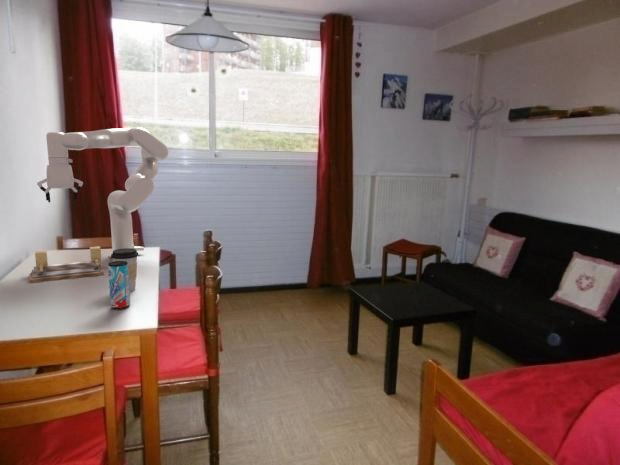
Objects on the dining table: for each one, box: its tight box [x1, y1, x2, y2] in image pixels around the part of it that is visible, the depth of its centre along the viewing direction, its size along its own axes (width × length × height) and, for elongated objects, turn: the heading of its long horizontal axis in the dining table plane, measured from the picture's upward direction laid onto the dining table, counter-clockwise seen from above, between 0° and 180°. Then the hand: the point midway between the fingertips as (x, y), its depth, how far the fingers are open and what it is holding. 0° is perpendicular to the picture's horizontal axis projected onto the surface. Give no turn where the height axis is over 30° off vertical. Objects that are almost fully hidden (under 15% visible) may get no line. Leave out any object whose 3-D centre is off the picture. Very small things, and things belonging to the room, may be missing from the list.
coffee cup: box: [110, 248, 139, 293], centre depth 161 cm, size 9×9×15 cm
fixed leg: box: [89, 245, 102, 268], centre depth 187 cm, size 4×10×7 cm, turn 29°
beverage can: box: [107, 261, 131, 310], centre depth 144 cm, size 6×6×15 cm
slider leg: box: [34, 250, 49, 273], centre depth 177 cm, size 4×10×7 cm, turn 29°
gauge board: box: [29, 260, 105, 284], centre depth 182 cm, size 26×16×3 cm, turn 119°
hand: (62, 201), depth 190 cm, fingers open, 9 cm apart
